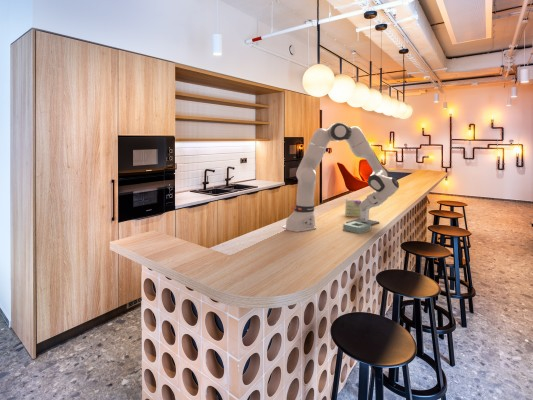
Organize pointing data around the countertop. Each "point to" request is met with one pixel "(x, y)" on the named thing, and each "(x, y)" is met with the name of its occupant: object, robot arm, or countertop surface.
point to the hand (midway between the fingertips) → (363, 210)
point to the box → (353, 208)
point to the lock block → (357, 227)
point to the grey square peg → (364, 215)
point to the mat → (365, 222)
